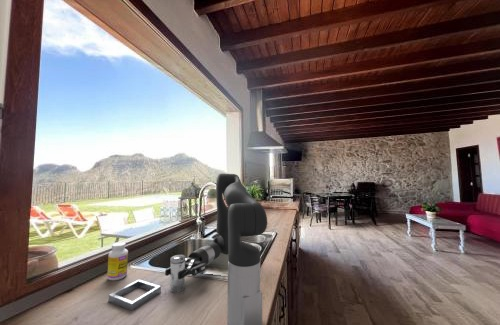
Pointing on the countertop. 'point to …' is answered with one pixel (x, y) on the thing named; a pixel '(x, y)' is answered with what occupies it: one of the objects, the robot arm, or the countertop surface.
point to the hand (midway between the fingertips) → (172, 274)
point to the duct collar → (131, 305)
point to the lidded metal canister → (177, 267)
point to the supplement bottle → (117, 261)
